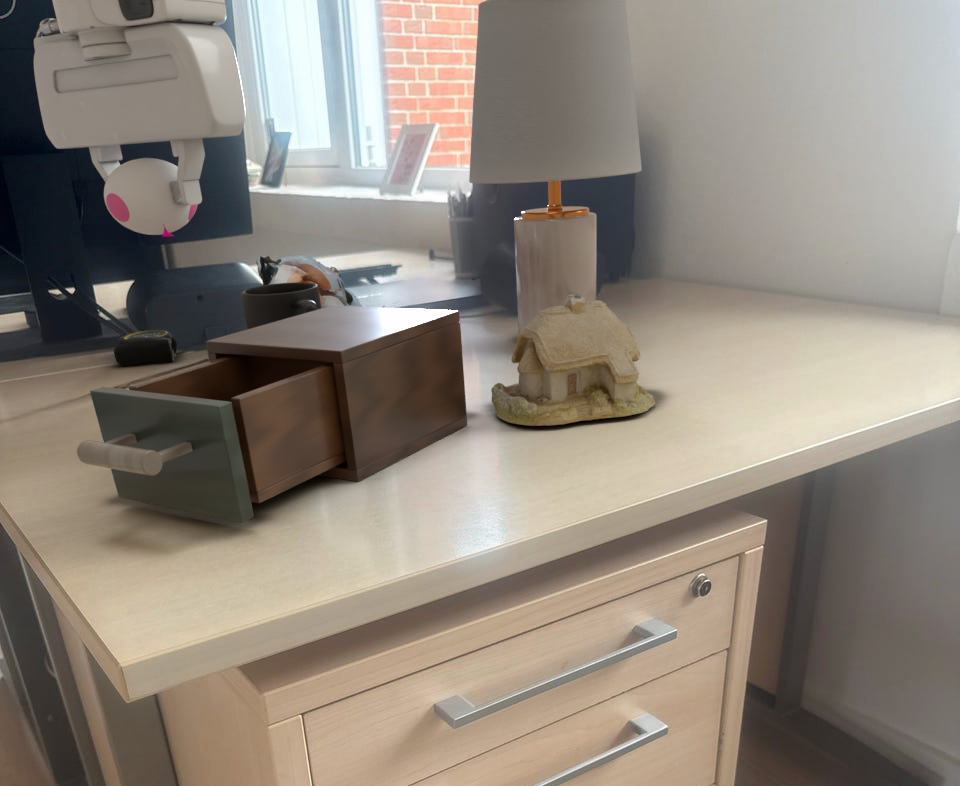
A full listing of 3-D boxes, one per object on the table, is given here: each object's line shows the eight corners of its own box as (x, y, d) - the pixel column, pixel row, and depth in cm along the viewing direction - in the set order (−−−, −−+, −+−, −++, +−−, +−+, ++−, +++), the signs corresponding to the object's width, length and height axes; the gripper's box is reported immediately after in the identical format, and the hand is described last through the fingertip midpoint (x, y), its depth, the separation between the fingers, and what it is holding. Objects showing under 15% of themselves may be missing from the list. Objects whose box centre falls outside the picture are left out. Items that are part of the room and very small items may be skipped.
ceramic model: (604, 386, 90) (604, 278, 85) (674, 410, 81) (679, 291, 76) (478, 411, 85) (470, 299, 80) (538, 440, 76) (534, 315, 71)
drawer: (194, 547, 58) (165, 425, 54) (68, 518, 64) (34, 406, 60) (373, 457, 72) (360, 355, 68) (256, 441, 78) (238, 346, 74)
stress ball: (200, 268, 82) (176, 200, 82) (218, 216, 75) (191, 141, 75) (114, 275, 78) (89, 204, 78) (124, 221, 71) (97, 142, 71)
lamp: (639, 324, 115) (647, 0, 99) (635, 358, 99) (643, -23, 82) (493, 329, 119) (476, 16, 102) (466, 363, 103) (441, -2, 86)
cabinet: (358, 481, 70) (340, 351, 65) (229, 461, 76) (204, 341, 71) (467, 425, 81) (459, 310, 76) (347, 411, 88) (332, 305, 83)
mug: (284, 398, 94) (268, 301, 89) (246, 378, 103) (230, 289, 98) (357, 384, 97) (345, 290, 92) (313, 366, 106) (301, 279, 102)
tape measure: (117, 375, 109) (109, 343, 107) (129, 362, 115) (121, 332, 113) (175, 369, 109) (167, 337, 107) (183, 357, 115) (177, 327, 113)
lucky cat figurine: (399, 338, 116) (378, 242, 105) (335, 394, 112) (305, 301, 100) (318, 297, 122) (289, 202, 111) (254, 349, 118) (217, 256, 106)
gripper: (-5, 19, 72) (47, 211, 79) (176, -15, 62) (216, 207, 69) (63, 23, 77) (106, 204, 83) (240, -8, 67) (272, 199, 74)
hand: (157, 205), depth 76 cm, fingers closed on stress ball, 6 cm apart
